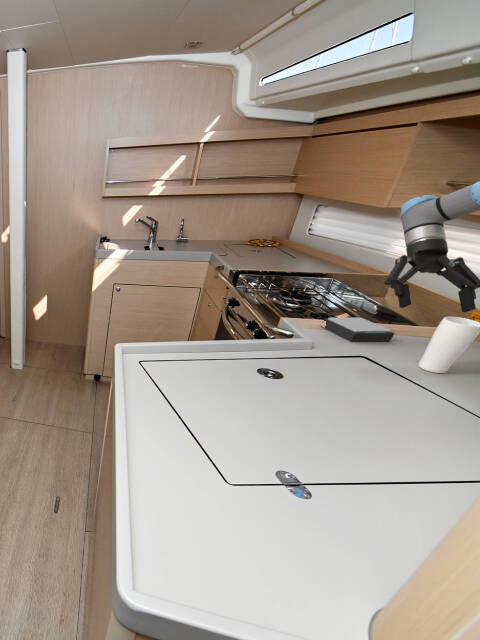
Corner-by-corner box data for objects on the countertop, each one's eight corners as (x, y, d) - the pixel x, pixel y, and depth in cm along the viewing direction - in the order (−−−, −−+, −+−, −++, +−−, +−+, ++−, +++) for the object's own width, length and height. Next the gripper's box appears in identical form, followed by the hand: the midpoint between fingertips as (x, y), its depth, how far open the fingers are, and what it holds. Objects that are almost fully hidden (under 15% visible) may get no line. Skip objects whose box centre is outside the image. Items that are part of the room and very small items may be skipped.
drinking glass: (417, 371, 100) (449, 323, 93) (409, 360, 104) (438, 314, 98) (454, 378, 96) (490, 328, 89) (444, 367, 101) (477, 319, 94)
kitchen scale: (389, 341, 115) (395, 331, 113) (350, 341, 116) (356, 331, 114) (355, 326, 126) (361, 316, 124) (320, 326, 126) (325, 316, 125)
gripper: (468, 252, 106) (481, 317, 101) (363, 249, 114) (370, 309, 108) (496, 238, 99) (512, 306, 94) (382, 235, 107) (391, 299, 101)
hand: (436, 308), depth 101 cm, fingers open, 13 cm apart
